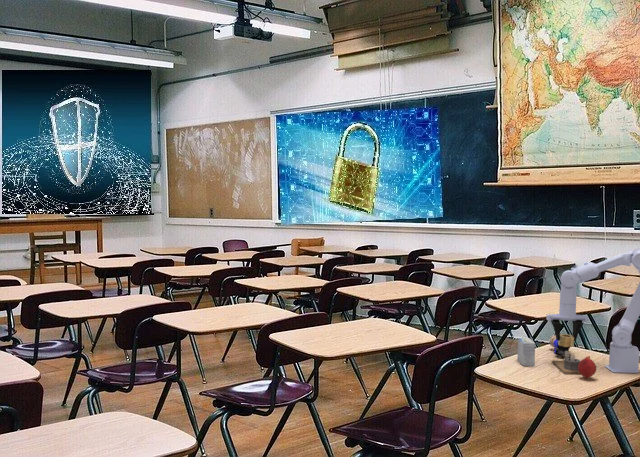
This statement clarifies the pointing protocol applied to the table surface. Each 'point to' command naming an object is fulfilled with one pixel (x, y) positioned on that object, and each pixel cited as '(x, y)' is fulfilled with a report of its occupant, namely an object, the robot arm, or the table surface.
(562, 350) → the character figurine
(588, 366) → the onion
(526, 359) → the medicine box
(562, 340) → the golden octagonal nut
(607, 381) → the table surface
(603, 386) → the table surface
